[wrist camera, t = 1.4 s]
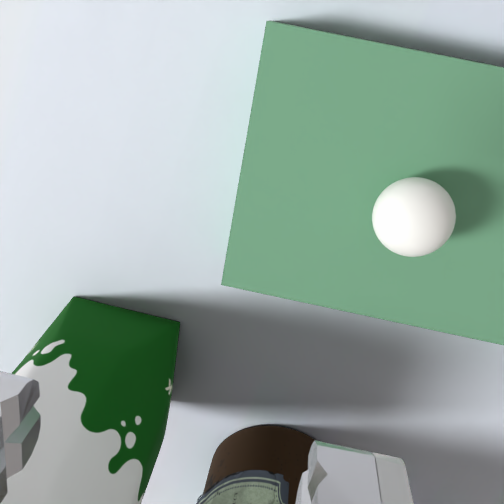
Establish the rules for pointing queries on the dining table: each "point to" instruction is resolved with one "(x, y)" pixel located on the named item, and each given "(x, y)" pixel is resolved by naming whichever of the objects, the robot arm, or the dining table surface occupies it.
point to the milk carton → (97, 405)
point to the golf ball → (413, 217)
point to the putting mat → (370, 180)
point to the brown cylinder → (258, 467)
